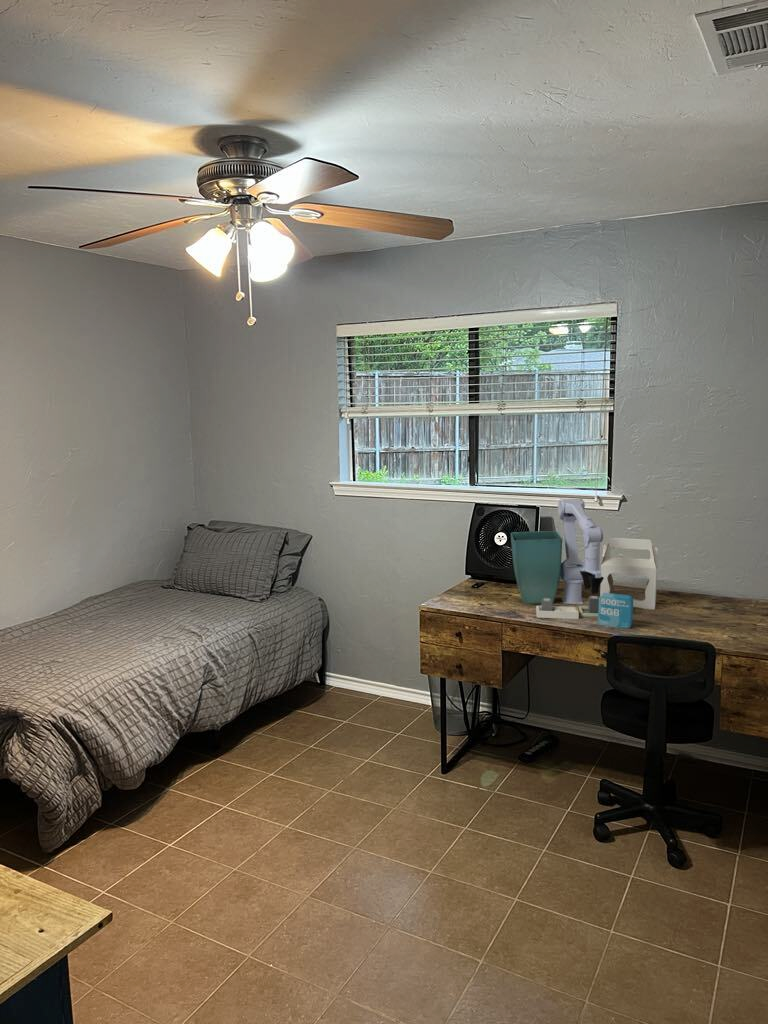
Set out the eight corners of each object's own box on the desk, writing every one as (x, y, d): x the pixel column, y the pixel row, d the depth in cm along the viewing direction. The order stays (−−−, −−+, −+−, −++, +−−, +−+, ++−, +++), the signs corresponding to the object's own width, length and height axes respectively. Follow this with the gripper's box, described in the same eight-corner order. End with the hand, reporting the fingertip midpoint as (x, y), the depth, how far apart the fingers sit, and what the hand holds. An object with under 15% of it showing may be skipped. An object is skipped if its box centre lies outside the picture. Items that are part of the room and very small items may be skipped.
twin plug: (541, 613, 303) (541, 597, 302) (551, 613, 302) (551, 598, 301) (541, 616, 299) (542, 600, 298) (552, 616, 299) (552, 600, 298)
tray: (578, 609, 310) (578, 605, 310) (606, 609, 308) (606, 606, 308) (581, 616, 299) (581, 613, 299) (609, 617, 298) (609, 614, 297)
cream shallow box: (535, 612, 305) (536, 603, 305) (576, 614, 303) (576, 605, 302) (536, 618, 298) (537, 609, 297) (578, 620, 295) (578, 610, 295)
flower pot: (511, 594, 335) (510, 531, 330) (557, 593, 332) (556, 530, 328) (514, 606, 315) (513, 540, 311) (563, 605, 313) (562, 539, 309)
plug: (588, 610, 306) (588, 595, 305) (598, 611, 305) (598, 595, 304) (589, 613, 302) (589, 598, 301) (599, 613, 302) (600, 598, 301)
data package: (597, 625, 288) (598, 595, 286) (600, 622, 292) (601, 592, 290) (630, 629, 283) (631, 598, 281) (632, 626, 287) (633, 595, 285)
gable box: (656, 601, 320) (659, 536, 316) (655, 609, 308) (658, 542, 304) (602, 597, 328) (604, 533, 324) (599, 605, 316) (601, 539, 312)
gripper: (576, 554, 305) (574, 586, 307) (589, 562, 290) (587, 596, 292) (592, 553, 305) (591, 586, 307) (606, 561, 291) (605, 595, 293)
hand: (591, 591), depth 300 cm, fingers open, 7 cm apart
